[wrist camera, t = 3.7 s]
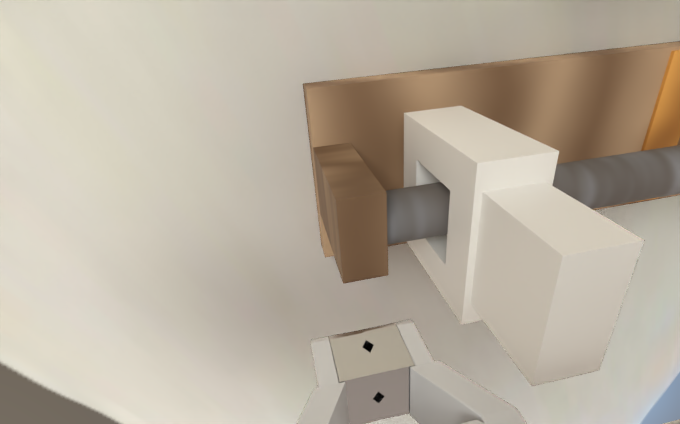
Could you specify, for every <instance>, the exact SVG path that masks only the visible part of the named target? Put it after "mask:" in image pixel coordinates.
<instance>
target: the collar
mask: <svg viewBox="0 0 680 424" xmlns="http://www.w3.org/2000/svg"><path fill="white" fill-rule="evenodd" d="M558 155H559V151H558V150H556V149H554V148H552V147H549V146H547V145H545V144H543V143H541V142H539V141H536V140H534V139H532V138H530V137H528V136H526V135H524V134H521V133H519V132H517V131H515V130H513V129H511V128H508V127H506V126H504V125H502V124H500V123H498V122H496V121H493V120H491V119H489V118H487V117H485V116H483V115H480V114H478V113H476V112H474V111H472V110H470V109H467V108H465V107H463V106H454V107H446V108H438V109H430V110H422V111H415V112H407V113H404V188H406V187H412V186H419V185H425V184H431V183H438V182H441V183H443V184H444V185H445V186H446V187H447V188H448V189H449V190H450V202H449V217H448V232H447V235H441V236H435V237H429V238H424V239H418V240H412V241H407V243H408V245H409V246H410V248H411V249H412V251H413V252H414V254H415V255H416V257H417V258H418V260H419V261H420V263H421V264H422V266H423V267H424V269H425V270H426V272H427V274H428V275H429V277H430V278H431V280H432V281H433V283H434V284H435V286H436V287H437V289H438V290H439V292H440V293H441V295H442V296H443V298H444V299H445V301H446V302H447V304H448V305H449V307H450V308H451V310H452V311H453V313H454V314H455V316H456V317H457V319H458V320H459V322H460V323H461V325H464V324H469V323H473V322H478V321H484V322H485V324H486V325H487V326H488V328H489V329H490V330H491V332H492V333H493V335H494V336H495V337H496V339H497V340H498V341H499V343H500V344H501V345H502V347H503V348H504V349H505V351H506V352H507V353H508V355H509V356H510V358H511V359H512V360H513V362H514V363H515V364H516V366H517V367H518V368H519V370H520V371H521V372H522V374H523V375H524V376H525V378H526V379H527V380H528V382H529V383H530V385H531V386H536V385H540V384H544V383H548V382H553V381H557V380H561V379H565V378H569V377H573V376H578V375H582V374H586V373H590V372H594V371H598V370H600V367H601V364H602V361H603V358H604V355H605V352H606V350H607V347H608V344H609V341H610V338H611V335H612V332H613V329H614V327H615V324H616V321H617V318H618V315H619V312H620V309H621V307H622V304H623V301H624V298H625V295H626V292H627V289H628V286H629V284H630V281H631V278H632V275H633V272H634V269H635V266H636V264H637V261H638V258H639V255H640V252H641V249H642V246H643V243H644V241H645V240H643V239H642V238H640V237H638V236H637V235H635V234H633V233H631V232H630V231H628V230H626V229H625V228H623V227H621V226H620V225H618V224H616V223H615V222H613V221H611V220H609V219H608V218H606V217H604V216H603V215H601V214H599V213H598V212H596V211H594V210H592V209H591V208H589V207H587V206H586V205H584V204H582V203H581V202H579V201H577V200H576V199H574V198H572V197H570V196H569V195H567V194H565V193H564V192H562V191H560V190H559V189H557V188H555V187H554V186H552V185H553V180H554V175H555V170H556V165H557V160H558Z"/></svg>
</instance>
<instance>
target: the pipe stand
mask: <svg viewBox="0 0 680 424" xmlns="http://www.w3.org/2000/svg"><path fill="white" fill-rule="evenodd" d="M303 88H304V97H305V106H306V114H307V123H308V132H309V140H310V149H311V158H312V167H313V175H314V184H315V193H316V201H317V210H318V219H319V227H320V236H321V245H322V248H323V251H324V255H325V257H330V256H334V257H335V260H336V263H337V266H338V269H339V272H340V275H341V278H342V281H343V283H349V282H354V281H359V280H365V279H370V278H376V277H381V276H386V275H388V246H392V245H398V244H404V243H407V241H412V240H418V239H424V238H429V237H435V236H441V235H447V232H448V217H449V202H450V190H449V189H448V188H447V187H446V186H445V185H444V184H443V183H441V182H438V183H431V184H425V185H419V186H412V187H406V188H404V113H407V112H415V111H422V110H430V109H438V108H446V107H454V106H463V107H465V108H467V109H470V110H472V111H474V112H476V113H478V114H480V115H483V116H485V117H487V118H489V119H491V120H493V121H496V122H498V123H500V124H502V125H504V126H506V127H508V128H511V129H513V130H515V131H517V132H519V133H521V134H524V135H526V136H528V137H530V138H532V139H534V140H536V141H539V142H541V143H543V144H545V145H547V146H549V147H552V148H554V149H556V150H558V151H559V155H558V160H557V165H556V170H555V175H554V180H553V185H552V186H554V187H555V188H557V189H559V190H560V191H562V192H564V193H565V194H567V195H569V196H570V197H572V198H574V199H576V200H577V201H579V202H581V203H582V204H584V205H586V206H587V207H589V208H591V209H592V210H597V209H603V208H609V207H614V206H620V205H626V204H631V203H637V202H643V201H649V200H654V199H660V198H666V197H671V196H677V195H680V41H678V42H669V43H661V44H652V45H643V46H634V47H625V48H616V49H607V50H598V51H589V52H581V53H572V54H563V55H554V56H545V57H536V58H527V59H518V60H509V61H501V62H492V63H483V64H474V65H465V66H456V67H447V68H438V69H430V70H421V71H412V72H403V73H394V74H385V75H376V76H367V77H358V78H350V79H341V80H332V81H323V82H314V83H305V84H303Z"/></svg>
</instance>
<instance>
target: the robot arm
mask: <svg viewBox="0 0 680 424" xmlns="http://www.w3.org/2000/svg"><path fill="white" fill-rule="evenodd" d="M311 348H312V355H313V361H314V368H315V374H316V381H317V387H318V388H315V389H313V391H312V393H311V395H310V397H309V399H308V401H307V403H306V405H305V407H304V409H303V411H302V413H301V415H300V417H299V419H298V422H297V424H365V423H369V422H373V421H376V420H380V419H385V418H390V417H395V416H399V415H404V414H409V413H410V416H411V417H412V418H414V419H415V420H416V421H417V422H418V423H419V424H527V423H526V421H525V420H524V418H523V417H522V415H521V414H520V412H519V411H518V409H517V408H516V407H514V406H512V405H511V404H509V403H507V402H506V401H504V400H503V399H501V398H499V397H498V396H496V395H494V394H493V393H491V392H490V391H488V390H486V389H485V388H483V387H481V386H480V385H478V384H477V383H475V382H473V381H472V380H470V379H469V378H467V377H465V376H464V375H462V374H460V373H459V372H457V371H456V370H454V369H452V368H451V367H449V366H447V365H446V364H444V363H443V362H441V361H434V360H433V358H432V356H431V354H430V352H429V350H428V348H427V346H426V344H425V343H424V341H423V339H422V337H421V335H420V333H419V331H418V329H417V327H416V326H415V324H414V322H413V321H412V320H411V319H409V320H405V321H400V322H395V323H391V324H386V325H381V326H377V327H372V328H368V329H363V330H359V331H354V332H348V333H343V334H337V335H332V336H328V337H323V338H317V339H311ZM664 424H680V419H679V420H675V421H671V422H668V423H664Z"/></svg>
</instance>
